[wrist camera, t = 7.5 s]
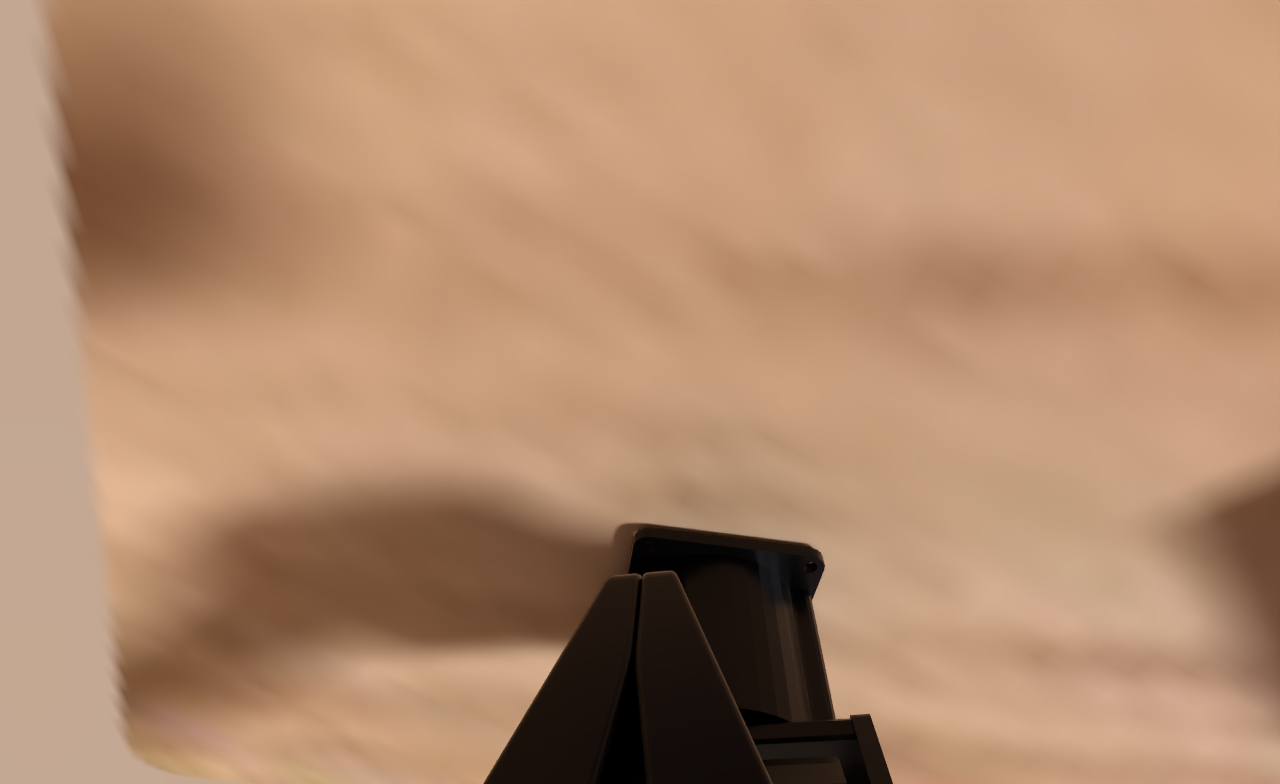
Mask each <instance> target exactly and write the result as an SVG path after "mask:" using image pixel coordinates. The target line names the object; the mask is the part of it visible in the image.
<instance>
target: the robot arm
mask: <svg viewBox="0 0 1280 784" xmlns="http://www.w3.org/2000/svg"><path fill="white" fill-rule="evenodd" d="M645 542H650V543H653V544H644V543H645ZM807 562H813V563H810V564H805V563H807ZM824 567H825V564H824V560H823V556H822V554H821V552H819V551H818V550H816V549H812V548H805V547H797V546H789V545H780V544H772V543H764V542H756V541H748V540H740V539H732V538H724V537H716V536H708V535H700V534H692V533H684V532H676V531H668V530H660V529H652V528H645V529H642V530H639V531H638V532H637V533H636V534H635V536H634V539H633V544H632V550H631V555H630V561H629V566H628V572H627V574H622V575H613V576H610V577H608V578H607V579H606V581H605V582H604V584H603V586H602V587H601V589H600V590H599V592H598V594H597V595H596V597H595V599H594V600H593V602H592V604H591V605H590V607H589V609H588V610H587V612H586V614H585V615H584V617H583V619H582V620H581V622H580V624H579V625H578V627H577V629H576V630H575V632H574V634H573V635H572V637H571V639H570V640H569V642H568V644H567V645H566V647H565V649H564V650H563V652H562V654H561V655H560V657H559V659H558V660H557V662H556V664H555V665H554V667H553V669H552V670H551V672H550V674H549V675H548V677H547V679H546V680H545V682H544V684H543V685H542V687H541V689H540V690H539V692H538V694H537V695H536V697H535V699H534V700H533V702H532V704H531V705H530V707H529V709H528V710H527V712H526V714H525V715H524V717H523V719H522V720H521V722H520V724H519V725H518V727H517V729H516V730H515V732H514V734H513V735H512V737H511V739H510V740H509V742H508V744H507V745H506V747H505V749H504V750H503V752H502V754H501V755H500V757H499V759H498V760H497V762H496V764H495V765H494V767H493V769H492V770H491V772H490V774H489V775H488V777H487V779H486V780H485V782H484V784H893V782H892V779H891V776H890V773H889V770H888V767H887V764H886V761H885V758H884V755H883V752H882V749H881V746H880V743H879V740H878V737H877V734H876V731H875V728H874V725H873V722H872V719H871V716H870V714H861V715H850V719H835V714H834V709H833V704H832V699H831V694H830V689H829V684H828V679H827V674H826V669H825V664H824V659H823V654H822V649H821V645H820V640H819V635H818V630H817V625H816V620H815V615H814V610H813V605H812V599H813V597H814V594H815V591H816V589H817V586H818V584H819V581H820V579H821V576H822V574H823V571H824Z"/></svg>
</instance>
